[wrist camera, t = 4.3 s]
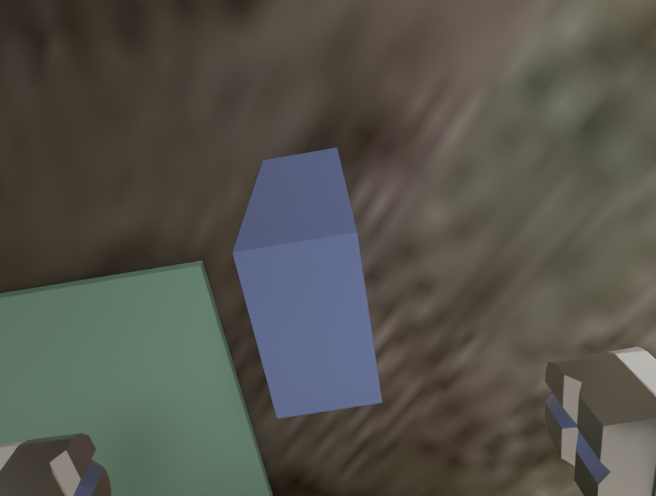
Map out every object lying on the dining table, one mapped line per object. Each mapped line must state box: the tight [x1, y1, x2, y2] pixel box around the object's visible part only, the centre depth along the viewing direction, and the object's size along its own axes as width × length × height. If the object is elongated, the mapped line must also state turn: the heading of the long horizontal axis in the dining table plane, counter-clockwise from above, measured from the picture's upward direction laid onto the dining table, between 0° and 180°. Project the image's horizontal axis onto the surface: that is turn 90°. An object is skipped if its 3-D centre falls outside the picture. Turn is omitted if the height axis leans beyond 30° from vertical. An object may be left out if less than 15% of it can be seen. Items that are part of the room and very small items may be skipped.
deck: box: [232, 148, 382, 419], centre depth 13 cm, size 4×2×7 cm, turn 9°
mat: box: [0, 260, 273, 496], centre depth 20 cm, size 15×14×1 cm
